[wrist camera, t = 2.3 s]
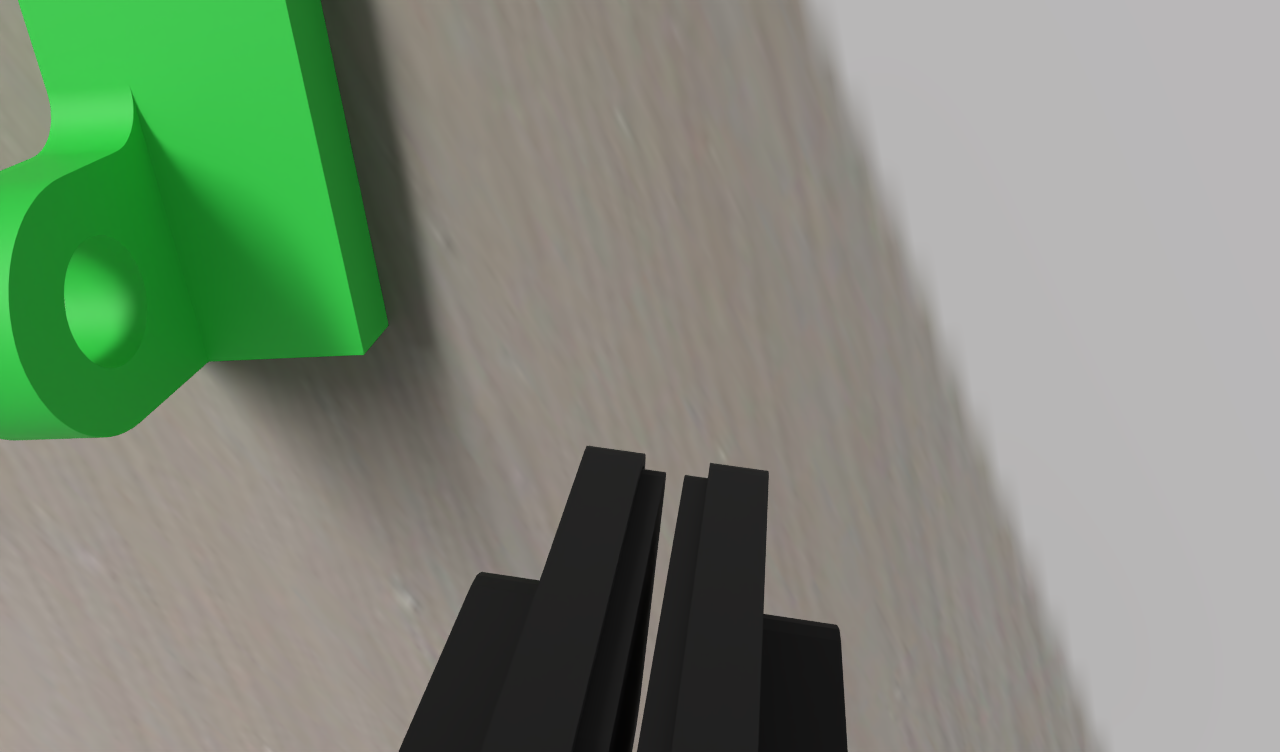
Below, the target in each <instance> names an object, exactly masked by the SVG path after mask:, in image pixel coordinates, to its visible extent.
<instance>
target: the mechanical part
mask: <svg viewBox="0 0 1280 752" xmlns="http://www.w3.org/2000/svg"><path fill="white" fill-rule="evenodd" d="M18 2H19V5H20V8H21V11H22V14H23V17H24V21H25V24H26V27H27V30H28V33H29V36H30V39H31V43H32V46H33V49H34V52H35V55H36V58H37V62H38V65H39V68H40V71H41V74H42V77H43V81H44V84H45V87H46V90H47V93H48V97H49V101H50V107H51V128H50V134H49V137H48V140H47V142H46V145H45V146H44V148H43V149H42V151H41V152H40V153H39V154H38V155H36V156H35V157H33V158H31V159H28V160H26V161H23V162H21V163H19V164H16V165H14V166H11V167H9V168H7V169H4V170H2V171H0V439H5V440H39V439H70V438H100V437H112V436H116V435H119V434H122V433H125V432H127V431H128V430H130V429H132V428H134V427H135V426H136V425H137V424H139V423H140V422H141V421H142V420H143V419H144V418H146V417H147V416H148V415H149V414H150V413H151V412H152V411H154V410H155V409H156V408H157V407H158V406H159V405H160V404H161V403H163V402H164V401H165V400H166V399H167V398H168V397H169V396H170V395H172V394H173V393H174V392H175V391H176V390H177V389H178V388H179V387H181V386H182V385H183V384H184V383H185V382H186V381H187V380H188V379H190V378H191V377H192V376H193V375H194V374H195V373H196V372H197V371H199V370H200V369H201V368H202V367H203V366H204V365H205V364H206V363H208V362H209V361H232V360H255V359H278V358H301V357H324V356H347V355H364V354H365V353H366V352H367V351H368V349H369V348H370V347H371V346H372V345H373V343H374V342H375V341H376V340H377V339H378V337H379V336H380V335H381V334H382V333H383V332H384V330H385V329H386V328H387V327H388V326H389V324H388V320H387V315H386V310H385V305H384V301H383V296H382V291H381V286H380V282H379V277H378V272H377V267H376V262H375V258H374V253H373V248H372V243H371V239H370V234H369V229H368V224H367V219H366V215H365V210H364V205H363V200H362V196H361V191H360V186H359V181H358V177H357V172H356V167H355V162H354V157H353V153H352V148H351V143H350V138H349V134H348V129H347V124H346V119H345V114H344V110H343V105H342V100H341V95H340V91H339V86H338V81H337V76H336V72H335V67H334V62H333V57H332V52H331V48H330V43H329V38H328V33H327V29H326V24H325V19H324V14H323V9H322V5H321V0H18ZM64 299H65V303H64ZM65 309H66V311H65Z"/></svg>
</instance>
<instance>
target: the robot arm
mask: <svg viewBox="0 0 1280 752" xmlns="http://www.w3.org/2000/svg"><path fill="white" fill-rule="evenodd" d="M665 480H666V472H660V471H652V470H645V454H643V453H636V452H628V451H621V450H614V449H607V448H600V447H593V446H587V447H586V449H585V451H584V454H583V457H582V460H581V463H580V466H579V469H578V471H577V474H576V477H575V480H574V483H573V486H572V489H571V492H570V495H569V497H568V500H567V503H566V506H565V509H564V512H563V515H562V518H561V521H560V524H559V526H558V529H557V532H556V535H555V538H554V541H553V544H552V547H551V550H550V552H549V555H548V558H547V561H546V564H545V567H544V570H543V573H542V576H541V578H540V581H539V580H532V579H526V578H519V577H512V576H505V575H499V574H492V573H485V572H481V573H479V574H478V575H477V576H476V578H475V579H474V581H473V583H472V585H471V587H470V589H469V592H468V594H467V596H466V598H465V601H464V603H463V605H462V608H461V610H460V612H459V615H458V617H457V619H456V621H455V624H454V626H453V628H452V631H451V633H450V635H449V637H448V640H447V642H446V644H445V647H444V649H443V651H442V653H441V656H440V658H439V660H438V663H437V665H436V667H435V669H434V672H433V674H432V676H431V679H430V681H429V683H428V686H427V688H426V690H425V692H424V695H423V697H422V699H421V702H420V704H419V706H418V708H417V711H416V713H415V715H414V718H413V720H412V722H411V724H410V727H409V729H408V731H407V734H406V736H405V738H404V740H403V743H402V745H401V747H400V750H399V752H632V749H633V743H634V737H635V731H636V725H637V718H638V711H639V704H640V696H641V687H642V679H643V670H644V661H645V653H646V644H647V636H648V627H649V618H650V610H651V601H652V593H653V584H654V575H655V567H656V558H657V550H658V541H659V532H660V524H661V515H662V507H663V498H664V489H665ZM768 480H769V472H768V471H764V470H757V469H750V468H743V467H736V466H728V465H721V464H714V463H710V468H709V475H708V478H702V477H695V476H688V475H685V477H684V482H683V488H682V494H681V500H680V506H679V511H678V517H677V523H676V529H675V535H674V540H673V546H672V552H671V558H670V564H669V569H668V575H667V581H666V587H665V593H664V598H663V604H662V610H661V616H660V622H659V627H658V633H657V639H656V645H655V651H654V656H653V662H652V668H651V674H650V680H649V685H648V691H647V697H646V703H645V709H644V714H643V720H642V726H641V732H640V738H639V743H638V749H637V752H848V750H847V734H846V717H845V701H844V684H843V668H842V651H841V638H840V630H839V628H838V626H837V625H834V624H827V623H820V622H814V621H807V620H800V619H794V618H787V617H780V616H774V615H767V614H763V610H764V584H765V558H766V532H767V506H768Z"/></svg>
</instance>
